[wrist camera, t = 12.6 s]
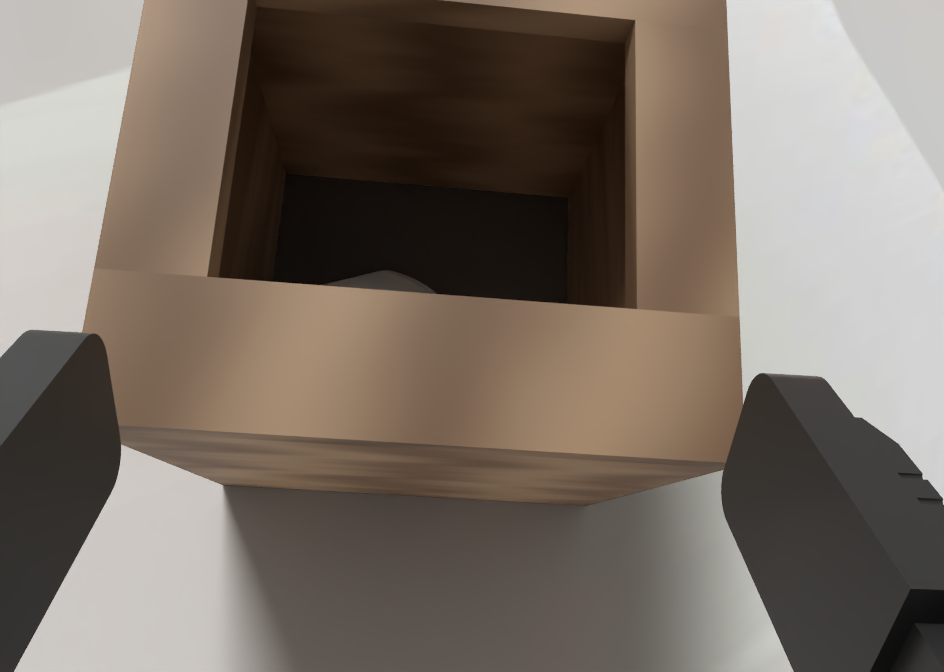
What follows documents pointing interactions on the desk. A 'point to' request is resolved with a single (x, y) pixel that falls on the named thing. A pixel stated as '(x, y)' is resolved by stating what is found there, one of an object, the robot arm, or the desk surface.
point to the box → (422, 314)
